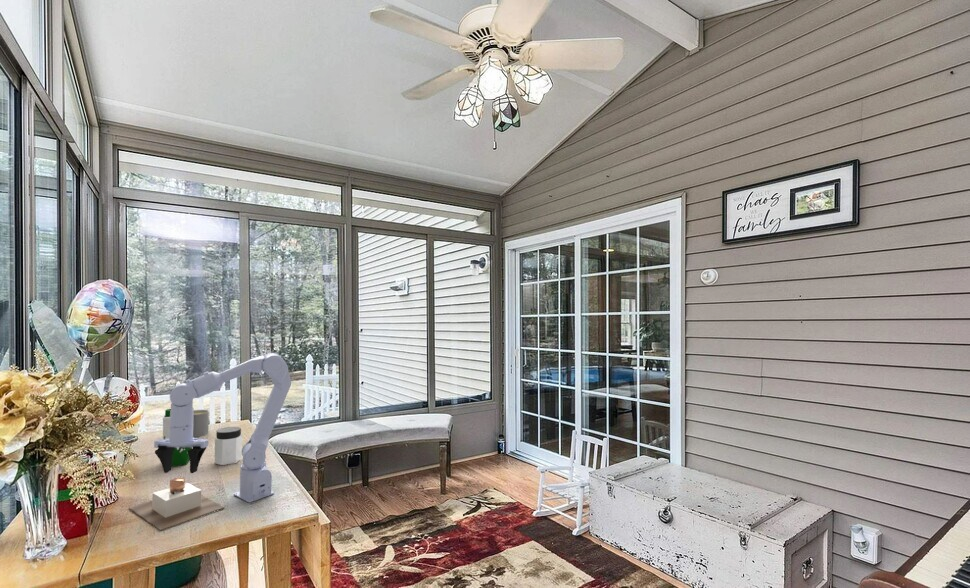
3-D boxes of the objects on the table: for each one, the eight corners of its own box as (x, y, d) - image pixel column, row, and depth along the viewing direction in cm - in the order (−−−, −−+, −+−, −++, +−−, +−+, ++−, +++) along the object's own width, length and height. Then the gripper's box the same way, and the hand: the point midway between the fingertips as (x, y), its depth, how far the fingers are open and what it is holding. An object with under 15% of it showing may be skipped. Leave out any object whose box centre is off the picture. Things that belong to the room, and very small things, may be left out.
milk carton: (166, 460, 169) (167, 407, 169) (194, 457, 172) (195, 405, 173) (159, 468, 161) (160, 412, 161) (188, 465, 164) (190, 410, 165)
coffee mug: (210, 430, 209) (210, 408, 209) (206, 436, 200) (206, 413, 200) (176, 433, 204) (176, 411, 204) (170, 439, 195) (171, 416, 195)
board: (224, 508, 131) (224, 507, 131) (160, 531, 117) (160, 529, 117) (190, 490, 143) (190, 488, 143) (128, 508, 130) (128, 507, 130)
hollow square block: (200, 505, 131) (201, 489, 131) (165, 517, 124) (165, 500, 124) (186, 497, 136) (187, 482, 137) (152, 508, 129) (152, 492, 129)
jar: (214, 467, 163) (215, 433, 163) (213, 460, 170) (214, 428, 170) (242, 462, 168) (243, 430, 168) (240, 456, 175) (241, 425, 175)
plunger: (186, 504, 131) (187, 479, 131) (172, 509, 128) (173, 483, 128) (180, 501, 133) (181, 476, 133) (167, 506, 130) (167, 480, 130)
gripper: (214, 421, 136) (213, 467, 135) (166, 421, 135) (165, 466, 135) (199, 428, 128) (198, 476, 128) (149, 428, 128) (148, 475, 128)
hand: (180, 471), depth 131 cm, fingers open, 7 cm apart
